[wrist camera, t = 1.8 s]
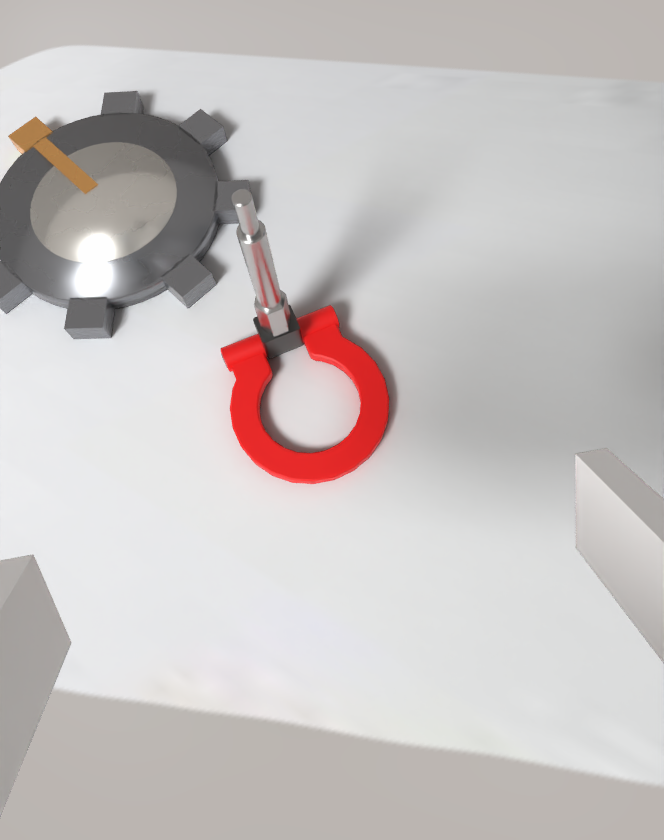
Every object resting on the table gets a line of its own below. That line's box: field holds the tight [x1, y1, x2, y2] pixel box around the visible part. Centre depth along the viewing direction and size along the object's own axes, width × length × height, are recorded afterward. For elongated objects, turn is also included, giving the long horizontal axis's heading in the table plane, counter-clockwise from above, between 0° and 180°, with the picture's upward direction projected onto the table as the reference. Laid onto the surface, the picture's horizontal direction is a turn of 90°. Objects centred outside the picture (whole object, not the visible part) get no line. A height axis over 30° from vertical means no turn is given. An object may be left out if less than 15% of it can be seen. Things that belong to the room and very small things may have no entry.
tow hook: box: [221, 189, 389, 484], centre depth 28 cm, size 8×13×9 cm
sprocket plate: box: [0, 91, 251, 339], centre depth 39 cm, size 18×18×1 cm
